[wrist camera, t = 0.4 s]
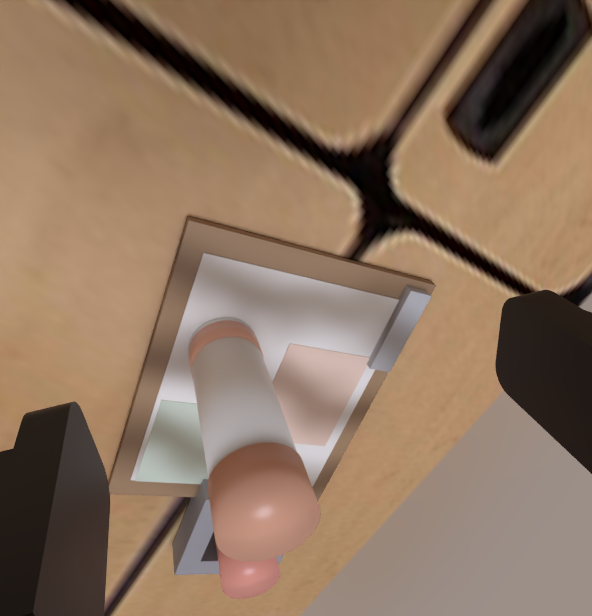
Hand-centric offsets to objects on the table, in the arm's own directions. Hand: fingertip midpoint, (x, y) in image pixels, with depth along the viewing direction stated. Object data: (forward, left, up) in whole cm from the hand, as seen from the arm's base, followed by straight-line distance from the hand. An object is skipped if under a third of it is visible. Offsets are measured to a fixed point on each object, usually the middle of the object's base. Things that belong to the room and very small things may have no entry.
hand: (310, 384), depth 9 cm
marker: (+11, +4, -18) cm, 21 cm away
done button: (+26, +10, -16) cm, 32 cm away
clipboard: (+14, +8, -18) cm, 24 cm away
